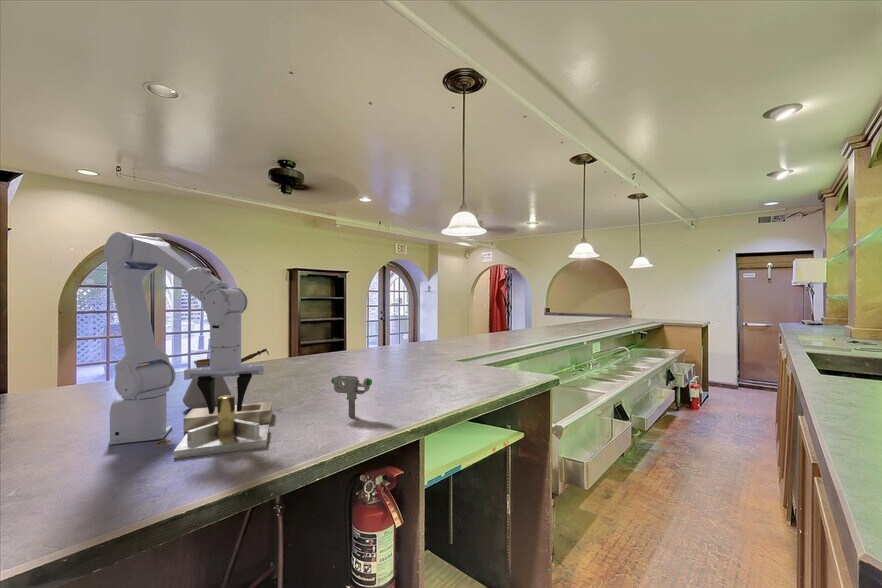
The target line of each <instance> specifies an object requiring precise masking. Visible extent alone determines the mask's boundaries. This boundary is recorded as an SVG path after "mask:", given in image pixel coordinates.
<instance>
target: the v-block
mask: <svg viewBox="0 0 882 588" xmlns="http://www.w3.org/2000/svg"><path fill="white" fill-rule="evenodd" d="M269 434H270V423H267V424H259V423H254V422H249V421H244V420H239V419H235V435H234V436H232V437H228V438H218V421H217V422H214V423H211V424H208V425H205V426H202V427H199V428H195V429H192V430H189V431H187V433H186V434H185V435H184V437H183V438H182V439H181V441H180V442H179V443H178V445H177V446H176V448H175V449H174V450H173V459H174V458H176V459H182V458H188V457H189V458H190V457H198V456H207V455H214V454H222V453H223V454H224V453H231V452H239V451H246V450H254V449H255V448H256V449H263V448H262V447H264V448H267V445H268V440H269Z"/></svg>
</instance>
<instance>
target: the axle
mask: <svg viewBox="0 0 882 588" xmlns="http://www.w3.org/2000/svg"><path fill="white" fill-rule="evenodd" d="M235 405H236V396H235V395H232V394H231V395H225V396H220V397H218V398H217V411H218V438H228V437H232V436H234V435H235Z"/></svg>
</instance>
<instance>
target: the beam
mask: <svg viewBox="0 0 882 588" xmlns="http://www.w3.org/2000/svg"><path fill="white" fill-rule="evenodd" d="M272 415H273V401H267V402H255V403H254V402H253V403H245V404H244V403H242V409H241V411H238V412H237V404H235V419H239V420H244V421H249V422H254V423H259V425H265V424H270V423H271V421H272ZM217 421H218V411H217V407H215V411H214V413H213V414H209V410H208V407H207V408H196V409H192V410H191V409H190V411H189V412H188V413H187V414H185V416H184V417H183V433H184V432H185V433H186V432H187V431H189V430H192V429H195V428H199V427H202V426H205V425H208V424H211V423H214V422H217Z"/></svg>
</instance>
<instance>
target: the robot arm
mask: <svg viewBox="0 0 882 588" xmlns="http://www.w3.org/2000/svg"><path fill="white" fill-rule="evenodd" d="M102 248H103V253H104V258H105V263H106V267H107V273H109V274H108V275H109V276H108V277H109V282H110V286H111V291H112V295H113V299H114V304H115V309H116V314H117V317H118V319H117V320H118V322H119V323H118V324H119V329H120V333H121V337H122V341H123V346H124V350H125V355H124V356H123V357H122V358H121V359H120V360H118V362H116V364H115V365H114V371H115V375H114V376H115V377H114V382H113V383H114V388H115V391H116V392H117V394H118V395H119V396H120V397H116V398H114V400H113V401H112V403H111V405H110V409H109V441H108V445H109V446H110V445H119V444H127V443H137V442H146V441H155V440H163V438H164V437H165V436H166V435H167V434H168V433H169V432H171V430H172V429H173V425H167V393H169V392H170V387H172V386H173V385H174V383H175V381H176V371H175V368H174V366H173V365H172V363H171V362H170V358H169V355H168V354H167V353H165V352H164V351H162V350H160V349H158V347H157V345H156V341H155V334H154V331H153V327H152V322H151V317H150V313H149V308H148V303H147V300H146V294H145V290H144V285H143V280H144V278H145V277H147V276H149V275H150V274H152V273H153V272H154V271H155V270H156V269H158V267H161V268H162V269H163V270H165V271H167V272H168V273H170V274H171V275H173V276H174V277H177V278H178V279H179V280H180V287H181V288H182V289H183V290H185V291H186V292H187V293H189V295H191V296H193V297H194V298H195V299H196V300H198V301H199V302H200V303H202V304H201V305H202V309H203V311H204V312H205V313H206V316H207V322H208V325H209V359H210V367H200V368H197V367H194V368H193V367H192V368H191V367H190V368H185V369H184V370H183V380H184V381H186V380H187V381H188V380H192V379H196V378H198V382H197V385H198V387H199V389H200V390H201V392H202V394H203V396H204V398H205V400H206V403H207V406H208V410H209V414H213V413H214V411H215V400H214V387H215V377H223V378H227V377H237V378H236V387H237V390H236V391H237V402H236V405H237V412H238V411H241V409H242V404H244V403H243V402H244V398H245V396H246V392H247V389H248V387H249V383H250V381H251V380H252V377H253V375H254V376H256V375H257V376H263V375H265V363H263V364H260V363H259V364H242V363H241V359H242V314H243V313H244V312H245V311H246V309H247V307H248V298H247V295H246V293H245V292H244V291H243V290H242V289H241V288H240V287H230V286H229V285H228V282H226V281H225V280H221V279H219V278H218V277H217V276H216V275H215V276H214V275H213V274H212V270H211V269H210V268H208V267H200V266H199V267H193V266H192V265H191V264H190V263H189V262H188V261H186V260H185V259H184V258H183V257H182V256H180V255H179V254H178V253H177V252H176V251H174V250H173V249H172V247H171V244H170V242H169V243H168V242H166V241H165V240H164V239H163V238H160V237H156V236H155V237H152V236H145V235H138V234H130V233H125V232H122V231H116V232H114V233H112V234H111V235H110V236H109V237H108V239H107V241H106V242H105V243H104V245H103V247H102Z"/></svg>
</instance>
